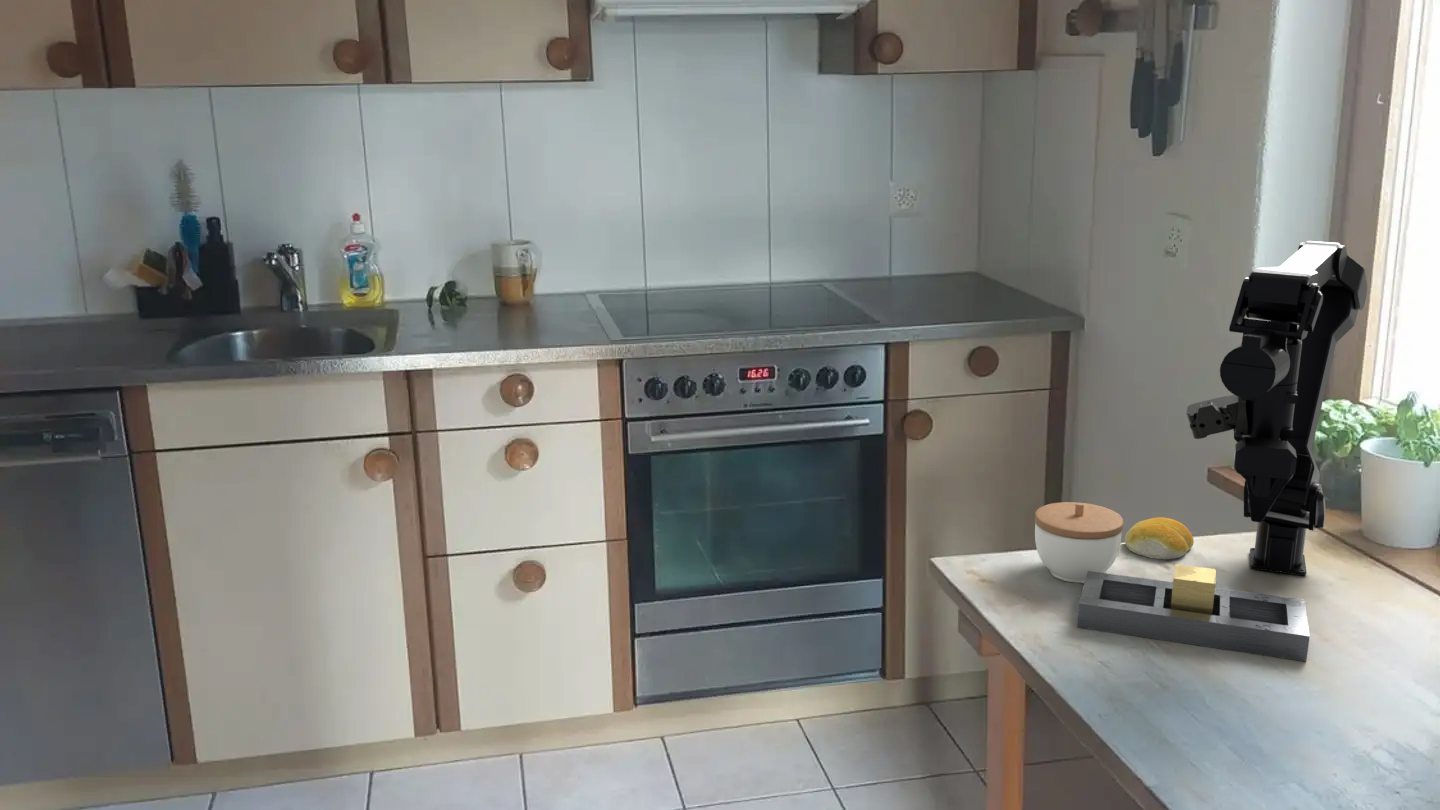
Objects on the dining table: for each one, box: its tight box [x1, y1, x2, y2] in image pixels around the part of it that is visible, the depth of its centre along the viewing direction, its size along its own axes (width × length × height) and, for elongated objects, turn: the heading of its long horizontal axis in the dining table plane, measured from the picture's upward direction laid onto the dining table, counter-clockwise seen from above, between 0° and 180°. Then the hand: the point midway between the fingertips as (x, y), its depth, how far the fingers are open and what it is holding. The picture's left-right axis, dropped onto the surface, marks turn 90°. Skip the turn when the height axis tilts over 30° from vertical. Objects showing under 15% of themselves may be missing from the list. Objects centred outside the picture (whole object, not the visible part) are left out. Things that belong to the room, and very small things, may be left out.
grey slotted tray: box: [1076, 571, 1310, 662], centre depth 142 cm, size 10×24×3 cm, turn 68°
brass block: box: [1171, 563, 1217, 615], centre depth 142 cm, size 4×4×6 cm
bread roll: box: [1124, 516, 1195, 561], centre depth 165 cm, size 8×9×4 cm
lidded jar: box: [1034, 501, 1124, 584], centre depth 156 cm, size 11×11×9 cm
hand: (1255, 508), depth 145 cm, fingers open, 9 cm apart
